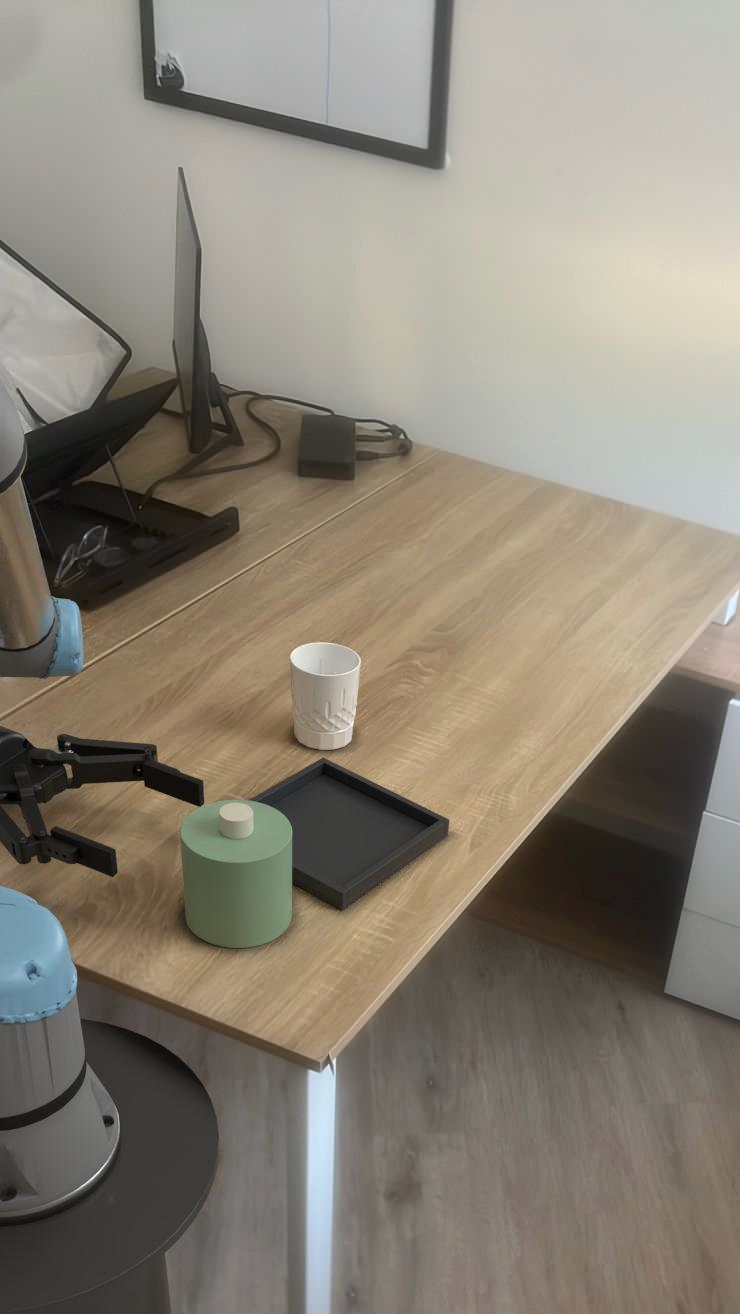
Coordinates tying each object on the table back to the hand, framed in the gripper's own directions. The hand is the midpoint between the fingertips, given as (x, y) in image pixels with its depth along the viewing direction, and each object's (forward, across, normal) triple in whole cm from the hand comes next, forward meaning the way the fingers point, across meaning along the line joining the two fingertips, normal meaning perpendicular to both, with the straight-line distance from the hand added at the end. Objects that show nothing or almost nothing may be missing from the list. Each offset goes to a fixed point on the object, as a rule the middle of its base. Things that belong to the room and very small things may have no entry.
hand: (160, 827), depth 120 cm
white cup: (-2, -33, -7) cm, 34 cm away
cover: (+9, 0, -7) cm, 11 cm away
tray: (+9, -16, -7) cm, 20 cm away
